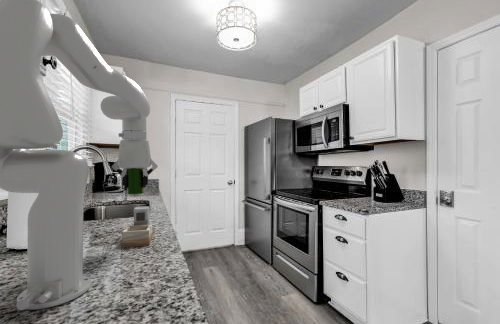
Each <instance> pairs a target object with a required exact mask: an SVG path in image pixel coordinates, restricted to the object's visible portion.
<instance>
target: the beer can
mask: <svg viewBox="0 0 500 324" xmlns="http://www.w3.org/2000/svg"><path fill="white" fill-rule="evenodd" d="M143 176H144V173H143V170H142V168H131V169H127V188H126V191H127V192H126V193H127V196H128V197H140V196H144V194H145V190H144V189H145V188H144V187H143Z"/></svg>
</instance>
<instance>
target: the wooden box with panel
mask: <svg viewBox="0 0 500 324" xmlns="http://www.w3.org/2000/svg"><path fill="white" fill-rule="evenodd" d="M155 230H156V229H155V227H153V224H150V206H149V205H148V206H144V205H143V206H135V207H134V208H133V225H128V226H126V227H125V229H123V231H122V232H121V241H120V248H131V247H132V248H133V247H134V248H135V247H144V246H145V247H146V246H150V245H151V242H152V239H153V238H154V235H155Z"/></svg>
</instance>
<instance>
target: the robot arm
mask: <svg viewBox="0 0 500 324" xmlns="http://www.w3.org/2000/svg"><path fill="white" fill-rule="evenodd" d="M49 56H50V57H55V58H56V59H57V60H58V61H59V62H60V63H61V64H62V65H63V66H64V67H65V69H66V70H67V71H68V72H70V73H71V75H72V76H73V77H74V78H75V79H76V80H77V81H78V82H79V83H80V84H81V85H82V86H84V87H87V88H90V89H93V90H94V91H98V92H102V93H106V94H111V95H108V96H106V97H105V98H103V99H102V100H101V102H100V110H101V113H102V114H103V115H105V117H107V118H108V119H109V120H110V119H111V120H118V121H121V120H122V132H120V133H118V138H122V139H121V140H120V141H119V146H118V158H117V160H115V162H114V163H113V164H112V165H111V168H112V169H113V170H114V171H116V173H118V175H120V177H122V178H121V179H122V186H124V187H123V189H127V169H131V168H142V170H143V173H144V176H143V187H144V189H145V188H147V186H148V185H149V175H150V174H152V172H154V171H156V169H157V168H158V164H157V163H156V162H155V161H154V160H153V159H152V157H151V147H150V143H149V140H148V139H147V117H149V115H150V114H151V106H150V102H149V99H148V98H147V96H146V94H145V93H144V91H143V89H142V88H141V86H139V84H137V83H136V82H135V81H134V80H133V79H131V78H130V77H128V76H126V75H125V74H123V72H120V71H119V70H117V69H115V68H113V67H111V66H110V65H108V63H107V62H106V61H105V60H104V58H103V56H102V55H101V54H100V53H99V52H98V50H97V49H96V47H95V46H94V44H93V43H92V42H91V40H90V39H89V38H88V36H87V35H86V33H85V32H84V31H83V29H82V28H81V26H80V25H79V24H78V23H77V22H76V21H75V20H74V19H72V18H71V17H70V16H67V15H65V14H61V13H60V14H59V13H50V12H49V10H48V9H47V7H46V6H45V5H44V4H42V2H40V1H39V0H0V189H1V190H3V191H6V192H9V193H17V194H18V193H20V194H38V195H36V196H37V197H36V198H35V199H34V201H33V203H32V204H31V206H30V207H29V210H28V214H27V252H26V253H27V263H26V265H27V266H26V269H27V270H26V276H27V278H26V280H27V281H26V282H27V284H26V289H25V290H23V291H21V293H19V294H18V295H17V297H16V306H15V307H16V308H17V310H19V311H24V310H29V311H30V310H31V311H33V310H41V309H47V308H51V307H52V308H53V307H55V306H56V307H57V306H59V305H63V304H65V303H68V302H70V301H72V300H75V299H76V298H78V297H80V296H82V295H83V294H85V293H86V292H88V290H89V289H90V288H91V284H92V283H91V281H92V279H91V278H90V277H89V276H87V275H84V272H83V271H84V270H83V269H84V268H83V267H84V266H83V265H84V263H83V262H84V202H85V201H84V199H85V193H86V187H87V183H88V178H89V171H90V169H89V163H88V161H87V160H86V158H85V157H84V156H82V155H81V154H79V153H78V152H75V151H72V150H66V149H47V148H51V147H53V146H56V145H57V144H59V143H60V142H61V140H62V138H63V137H64V129H63V125H62V123H61V120H60V118H59V116H58V113H57V111H56V109H55V106H54V104H53V102H52V99H51V97H50V96H49V93H48V91H47V89H46V88H47V87H46V85H45V83H44V80H43V78H42V75H41V74H42V73H41V68H40V67H41V59H42V57H49ZM148 168H150V169H148Z"/></svg>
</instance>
